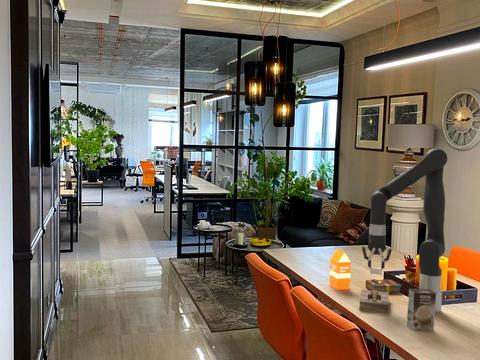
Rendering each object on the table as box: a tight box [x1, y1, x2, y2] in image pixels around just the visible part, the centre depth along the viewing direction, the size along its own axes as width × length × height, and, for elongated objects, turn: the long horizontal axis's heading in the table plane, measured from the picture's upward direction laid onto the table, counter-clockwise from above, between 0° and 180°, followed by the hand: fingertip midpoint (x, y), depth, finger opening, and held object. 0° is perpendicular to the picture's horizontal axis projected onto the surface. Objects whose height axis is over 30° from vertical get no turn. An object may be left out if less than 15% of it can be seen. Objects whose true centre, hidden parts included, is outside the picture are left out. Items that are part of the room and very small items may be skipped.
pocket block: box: [358, 289, 390, 314], centre depth 227 cm, size 20×13×4 cm, turn 163°
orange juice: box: [329, 248, 352, 291], centre depth 254 cm, size 8×9×20 cm
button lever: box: [372, 290, 377, 302], centre depth 229 cm, size 10×2×4 cm, turn 163°
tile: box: [369, 266, 383, 275], centre depth 224 cm, size 10×5×2 cm, turn 163°
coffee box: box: [406, 288, 436, 332], centre depth 198 cm, size 9×6×16 cm
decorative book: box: [365, 278, 402, 294], centre depth 251 cm, size 11×16×5 cm
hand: (376, 268), depth 227 cm, fingers closed on tile, 5 cm apart
